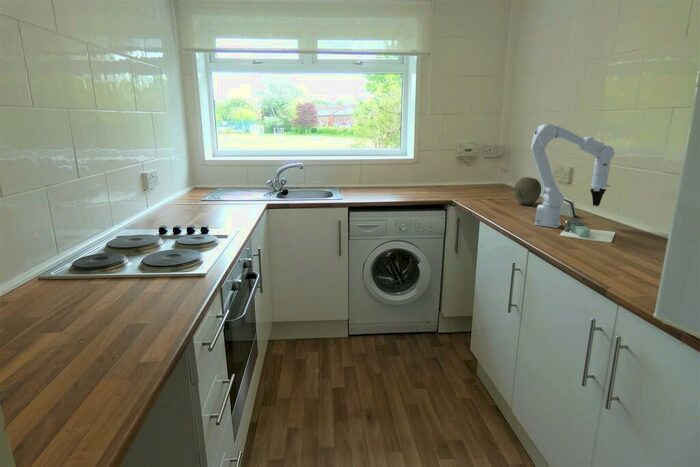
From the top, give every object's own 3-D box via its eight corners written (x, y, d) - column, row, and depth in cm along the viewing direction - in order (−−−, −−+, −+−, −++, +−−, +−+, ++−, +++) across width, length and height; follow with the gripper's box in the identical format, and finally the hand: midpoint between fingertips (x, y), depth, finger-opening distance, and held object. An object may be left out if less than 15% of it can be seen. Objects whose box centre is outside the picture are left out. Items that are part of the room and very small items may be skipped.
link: (565, 226, 183) (566, 220, 183) (578, 226, 183) (579, 221, 182) (578, 236, 167) (579, 230, 166) (592, 237, 166) (593, 230, 166)
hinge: (578, 216, 206) (577, 197, 202) (572, 220, 204) (570, 202, 200) (547, 210, 220) (545, 192, 216) (542, 214, 218) (539, 196, 214)
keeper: (564, 231, 176) (565, 221, 175) (563, 230, 178) (565, 220, 177) (583, 233, 173) (585, 222, 172) (583, 232, 175) (585, 221, 174)
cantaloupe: (544, 206, 229) (547, 179, 225) (517, 206, 229) (520, 179, 225) (533, 202, 242) (536, 175, 238) (508, 201, 242) (511, 175, 239)
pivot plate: (559, 235, 171) (560, 224, 170) (567, 227, 185) (568, 216, 184) (610, 243, 161) (612, 231, 160) (615, 233, 175) (617, 222, 174)
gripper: (609, 176, 172) (604, 209, 175) (613, 173, 183) (608, 204, 187) (590, 175, 176) (585, 207, 179) (594, 171, 187) (590, 202, 191)
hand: (595, 205), depth 183 cm, fingers closed
